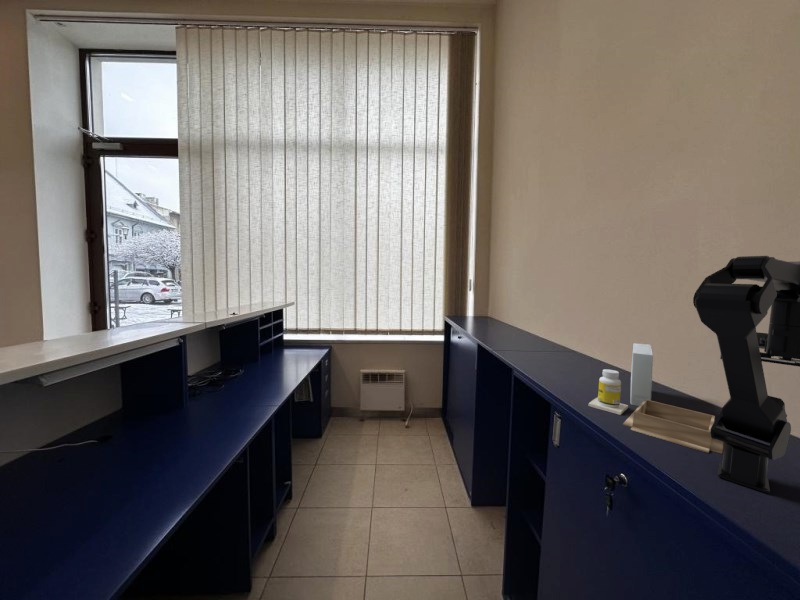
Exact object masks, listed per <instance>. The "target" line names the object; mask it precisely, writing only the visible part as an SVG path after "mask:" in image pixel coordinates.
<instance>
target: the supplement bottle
mask: <svg viewBox="0 0 800 600" xmlns="http://www.w3.org/2000/svg"><path fill="white" fill-rule="evenodd" d="M601 374H602V376H601V377H599V380H598V392H597V393H598V394H597V397H598V403H600V404H601V405H604V406H607V407H619V405H620V403H621V394H622V393H621V392H622V381H621V380H620V378H619V376H620V372H619V371H618V370H613V369H609V368H606V369H605V368H604V369H602V373H601Z"/></svg>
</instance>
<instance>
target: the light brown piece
mask: <svg viewBox="0 0 800 600" xmlns="http://www.w3.org/2000/svg"><path fill="white" fill-rule="evenodd" d="M715 420H716V416H715V415H713V414H709V413H704V412H700V411H696V410H692V409H688V408H684V407H679V406H675V405H671V404H666V403H662V402H658V401H655V400H651V401H650V400H646V399H645V400H644V401H643V402H642V404H641V405H640V406H638V407H636V409H635V410H634V411H633V412H632V413H631V414H630V416H629V417H627V419H626V420H625V421H624V422H623V423H622V426H625V427H630V431H633V432H637V433H640V434H643V435H647V436H650V437H654V438H657V439H660V440H663V441H667V442H669V443H673V444H676V445H680V446H683V447H685V448H690V449H694V450H695V451H696V450H697V451H699V452H702V453H703V452H704V453H706V454H709V453H710V451H711V452H713V453H717V454H721V455H723V450H724V442H723V441H720V440H717V439H713V438H711V433H710V432H711V427H712V425H713V424H714V422H715Z"/></svg>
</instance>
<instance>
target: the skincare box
mask: <svg viewBox="0 0 800 600" xmlns="http://www.w3.org/2000/svg"><path fill="white" fill-rule="evenodd" d="M653 361H654V355H653V350H652V344H646V343H645V344H644V343H637V342H636V343H635V342H633V347H632V355H631V368H630V370H631V371H630V393H629V394H630V401H629V402H630V405H633V406H638V407H639V406H640V405H641V404H642V402H643V401H644V400H645V399H646V400H650V401H652V388H653V365H654V364H653Z"/></svg>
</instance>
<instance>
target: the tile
mask: <svg viewBox="0 0 800 600" xmlns="http://www.w3.org/2000/svg"><path fill="white" fill-rule="evenodd" d="M587 404H588V405H587V406H588V407H591V408H594V409H598V410H601V411H604V412H605V411H606V412H609V413H613V414H615V415H616V414H617V415H619V416H621V415H622V414H623V413H625V412H626V411H627V409H629V405H628V404H624V403H621V402H620V405H619V407H607V406H604V405H601V404H600V403H598V396H597V397H595V398H594V399H592V400H591V401H590V402H589V403H587Z"/></svg>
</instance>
